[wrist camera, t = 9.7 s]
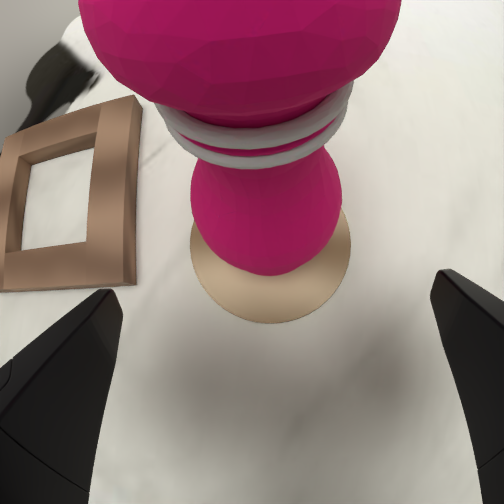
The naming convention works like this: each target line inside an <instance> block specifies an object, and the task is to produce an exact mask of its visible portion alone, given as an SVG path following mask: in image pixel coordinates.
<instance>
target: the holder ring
mask: <svg viewBox="0 0 504 504" xmlns="http://www.w3.org/2000/svg"><path fill="white" fill-rule="evenodd" d="M142 109H143V108H142V107H141V105H140V103H139V102H138V100H137V98H136V97H135V95H130V96H126V97H122V98H118V99H114V100H110V101H107V102H103V103H100V104H96V105H93V106H90V107H86V108H83V109H80V110H77V111H74V112H71V113H68V114H65V115H62V116H59V117H56V118H53V119H50V120H48V121H45V122H42V123H40V124H37V125H34V126H32V127H29V128H27V129H24V130H22V131H20V132H17V133H15V134H13V135H10V136H8V137H6V138H5V141H4V145H3V149H2V153H1V157H0V293H1V292H25V291H46V290H65V289H83V288H100V287H116V286H131V285H136V253H135V227H136V189H137V169H138V154H139V141H140V129H141V119H142ZM93 147H95V148H94V155H93V163H92V171H91V181H90V191H89V203H88V217H87V238H86V242H80V243H73V244H65V245H58V246H51V247H44V248H37V249H30V250H23V251H21V239H22V227H23V217H24V209H25V201H26V194H27V188H28V181H29V176H30V170H31V165H34V164H37V163H40V162H43V161H46V160H50V159H53V158H56V157H60V156H63V155H67V154H70V153H74V152H78V151H81V150H85V149H89V148H93Z"/></svg>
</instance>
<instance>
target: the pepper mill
mask: <svg viewBox="0 0 504 504" xmlns="http://www.w3.org/2000/svg"><path fill="white" fill-rule="evenodd" d="M78 5H79V9H80V14H81V19H82V23H83V27H84V31H85V33H86V35H87V37H88V39H89V42H90V44H91V46H92V48H93V50H94V52H95V54H96V56H97V58H98V59H99V60H100V61H101V63H102V64H103V65H104V66H105V67H106V69H107V70H108V71H109V72H110V73H111V74H112V76H113V77H114V78H115V79H116V80H117V81H118V82H120V83H121V84H123V85H125V86H126V87H128V88H129V89H131V90H133V91H134V92H136V93H137V94H139V95H141V96H142V97H144V98H145V99H147V100H148V101H151V102H154V104H155V106H156V108H157V110H158V112H159V113H160V115H161V116H162V117H163V119H164V121H165V123H166V126H167V128H168V131H169V132H170V133H171V135H172V136H173V137H174V139H175V140H176V141H177V142H178V143H179V144H180V145H181V146H182V147H183V148H184V149H185V150H186V151H188V152H190V153H191V154H193V155H194V156H196V157H198V160H197V163H196V166H195V169H194V172H193V176H192V180H191V207H192V214H193V217H194V220H195V223H196V226H197V228H198V230H199V232H200V234H201V236H202V237H203V239H204V241H205V242H206V244H207V245H208V246H209V248H210V249H211V250H212V251H213V252H214V253H215V254H216V255H217V256H218V257H219V258H221V259H222V260H224V261H225V262H227V263H228V264H230V265H232V266H234V267H236V268H239V269H241V270H244V271H248V272H250V273H253V274H256V275H261V276H277V275H282V274H285V273H288V272H290V271H293V270H295V269H296V268H298V267H299V266H301V265H303V264H305V263H306V262H308V261H310V260H311V259H312V258H313V257H315V256H316V255H317V254H318V253H320V251H321V250H322V249H323V248H324V247H325V246H326V244H327V243H328V242H329V240H330V238H331V237H332V235H333V233H334V230H335V228H336V225H337V222H338V219H339V215H340V210H341V205H342V190H341V184H340V179H339V175H338V171H337V168H336V166H335V164H334V162H333V160H332V158H331V157H330V155H329V154H328V152H327V151H326V149H325V148H324V144H325V143H327V142H328V141H329V139H330V138H331V137H332V136H333V135H334V134H335V133H336V131H337V130H338V129H339V127H340V125H341V123H342V122H343V120H344V117H345V114H346V111H347V105H348V99H349V97H350V95H351V92H352V88H353V83H354V80H355V79H356V78H358V77H360V76H361V75H363V74H364V73H365V72H366V71H367V70H368V69H369V68H370V67H371V66H372V65H373V64H374V63H375V62H376V61H377V60H378V59H379V57H380V56H381V54H382V52H383V50H384V49H385V47H386V45H387V44H388V42H389V40H390V37H391V35H392V33H393V30H394V28H395V25H396V23H397V20H398V16H399V11H400V6H401V0H79V1H78Z"/></svg>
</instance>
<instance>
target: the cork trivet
mask: <svg viewBox="0 0 504 504" xmlns="http://www.w3.org/2000/svg"><path fill="white" fill-rule="evenodd" d="M350 248H351V241H350V232H349V227H348V223H347V220H346V217H345V214H344V212H343V210H342V208H341V210H340V215H339V219H338V222H337V225H336V228H335V230H334V233H333V235H332V237H331V238H330V240H329V242H328V243H327V244H326V246H325V247H324V248H323V249H322V250H321V251H320V253H318V254H317V255H316V256H315V257H313V258H312V259H311V260H310V261H308V262H306V263H305V264H303V265H301V266H299V267H298V268H296V269H295V270H293V271H290V272H288V273H285V274H282V275H277V276H261V275H256V274H253V273H250V272H248V271H244V270H241V269H239V268H236V267H234V266H232V265H230V264H228V263H227V262H225V261H224V260H222V259H221V258H219V257H218V256H217V255H216V254H215V253H214V252H213V251H212V250H211V249H210V248H209V246H208V245H207V244H206V242H205V241H204V239H203V237H202V236H201V234H200V232H199V230H198V228H197V226H196V223H195V220H194V222H193V226H192V231H191V237H190V251H191V259H192V263H193V267H194V270H195V273H196V275H197V278H198V280H199V281H200V283H201V285H202V287H203V288H204V289H205V291H206V292H207V293H208V295H209V296H210V297H211V298H212V299H213V300H214V301H215V302H216V303H217V304H218V305H220V306H221V307H222V308H224V309H225V310H227V311H228V312H230V313H232V314H234V315H236V316H238V317H241V318H243V319H246V320H250V321H254V322H261V323H281V322H287V321H291V320H294V319H298V318H300V317H303V316H305V315H307V314H309V313H311V312H312V311H314V310H316V309H317V308H319V307H320V306H321V305H322V304H323V303H325V302H326V301H327V300H328V299H329V298H330V297H331V295H332V294H333V293H334V292H335V291H336V289H337V288H338V286H339V285H340V283H341V281H342V279H343V277H344V275H345V272H346V269H347V266H348V263H349V257H350Z"/></svg>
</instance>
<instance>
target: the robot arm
mask: <svg viewBox="0 0 504 504" xmlns="http://www.w3.org/2000/svg"><path fill="white" fill-rule="evenodd" d="M430 300H431V304H432V308H433V311H434V315H435V318H436V322H437V326H438V329H439V333H440V337H441V341H442V344H443V347H444V350H445V353H446V356H447V359H448V362H449V365H450V368H451V371H452V374H453V377H454V380H455V383H456V387H457V390H458V393H459V396H460V400H461V403H462V407H463V410H464V414H465V418H466V422H467V425H468V429H469V433H470V438H471V442H472V446H473V451H474V455H475V460H476V465H477V469H478V476H479V482H480V488H481V494H482V501H483V504H504V301H502V300H501V299H499V298H497V297H496V296H494V295H493V294H491V293H490V292H488V291H486V290H485V289H483V288H482V287H480V286H478V285H477V284H475V283H474V282H472V281H470V280H469V279H467V278H465V277H464V276H462V275H460V274H459V273H457V272H455V271H454V270H452V269H443V270H439V271H438V272H437V274H436V276H435V280H434V283H433V286H432V289H431V293H430ZM122 321H123V312H122V309H121V306H120V304H119V302H118V299H117V297H116V294H115V292H114V291H113V290H112V289H98V290H97V291H96V292H94V293H93V294H92V295H90V296H89V297H88V298H86V299H85V300H84V301H82V302H81V303H80V304H79V305H77V306H76V307H75V308H73V309H72V310H71V311H70V312H68V313H67V314H66V315H64V316H63V317H62V318H61V319H59V320H58V321H57V322H56V323H54V324H53V325H52V326H51V327H49V328H48V329H47V330H46V331H44V332H43V333H42V334H41V335H39V336H38V337H37V338H36V339H34V340H33V341H32V342H31V343H30V344H28V345H27V346H26V347H25V348H24V349H22V350H21V351H20V352H19V353H18V354H16V355H15V356H14V357H13V359H10V360H9V361H8V362H7V363H6V364H5V365H3V366H2V367H1V368H0V504H88V501H89V492H90V485H91V479H92V472H93V466H94V460H95V455H96V449H97V444H98V439H99V434H100V429H101V424H102V419H103V415H104V410H105V405H106V401H107V397H108V393H109V388H110V384H111V380H112V376H113V372H114V368H115V363H116V358H117V351H118V345H119V338H120V332H121V326H122Z"/></svg>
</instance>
